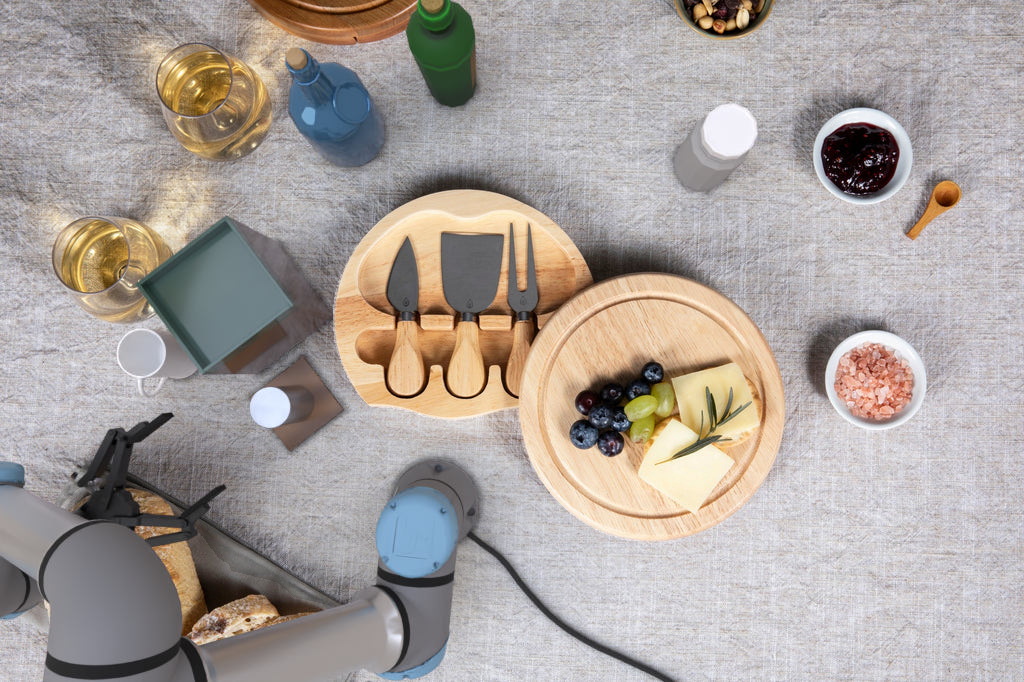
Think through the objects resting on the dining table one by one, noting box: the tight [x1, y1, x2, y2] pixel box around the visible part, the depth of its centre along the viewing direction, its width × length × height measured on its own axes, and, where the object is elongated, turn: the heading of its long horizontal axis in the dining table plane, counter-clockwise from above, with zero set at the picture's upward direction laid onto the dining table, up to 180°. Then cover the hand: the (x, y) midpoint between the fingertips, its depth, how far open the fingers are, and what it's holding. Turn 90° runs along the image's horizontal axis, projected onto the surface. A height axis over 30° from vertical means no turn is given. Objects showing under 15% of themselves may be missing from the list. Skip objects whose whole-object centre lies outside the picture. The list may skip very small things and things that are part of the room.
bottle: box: [405, 0, 478, 108], centre depth 107 cm, size 11×11×28 cm
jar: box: [673, 102, 759, 192], centre depth 110 cm, size 10×10×18 cm
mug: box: [116, 327, 198, 399], centre depth 113 cm, size 12×8×12 cm
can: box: [249, 385, 314, 429], centre depth 112 cm, size 7×7×12 cm
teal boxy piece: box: [134, 215, 334, 376], centre depth 109 cm, size 17×17×21 cm
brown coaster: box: [249, 356, 345, 452], centre depth 118 cm, size 12×12×1 cm
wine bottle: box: [284, 47, 386, 168], centre depth 106 cm, size 14×13×30 cm
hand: (195, 450), depth 99 cm, fingers open, 13 cm apart
